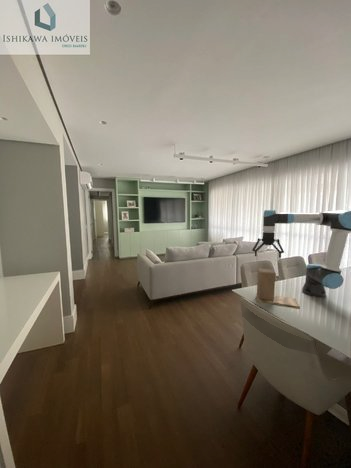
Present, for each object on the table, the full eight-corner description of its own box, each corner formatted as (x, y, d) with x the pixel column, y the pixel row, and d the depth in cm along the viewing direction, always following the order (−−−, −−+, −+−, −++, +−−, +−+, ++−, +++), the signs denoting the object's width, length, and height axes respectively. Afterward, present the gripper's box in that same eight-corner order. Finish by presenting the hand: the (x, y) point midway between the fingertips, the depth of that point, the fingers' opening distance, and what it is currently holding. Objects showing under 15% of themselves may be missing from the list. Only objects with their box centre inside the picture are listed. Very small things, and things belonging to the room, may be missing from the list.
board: (295, 300, 139) (295, 298, 139) (299, 308, 127) (299, 306, 127) (256, 294, 149) (256, 292, 149) (256, 301, 137) (256, 299, 137)
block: (274, 301, 135) (275, 273, 132) (258, 299, 137) (260, 272, 135) (270, 295, 144) (272, 269, 142) (256, 293, 147) (257, 268, 145)
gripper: (288, 232, 134) (286, 261, 136) (249, 231, 144) (248, 258, 146) (289, 233, 127) (288, 264, 130) (249, 231, 137) (248, 261, 139)
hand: (267, 261), depth 138 cm, fingers open, 13 cm apart
